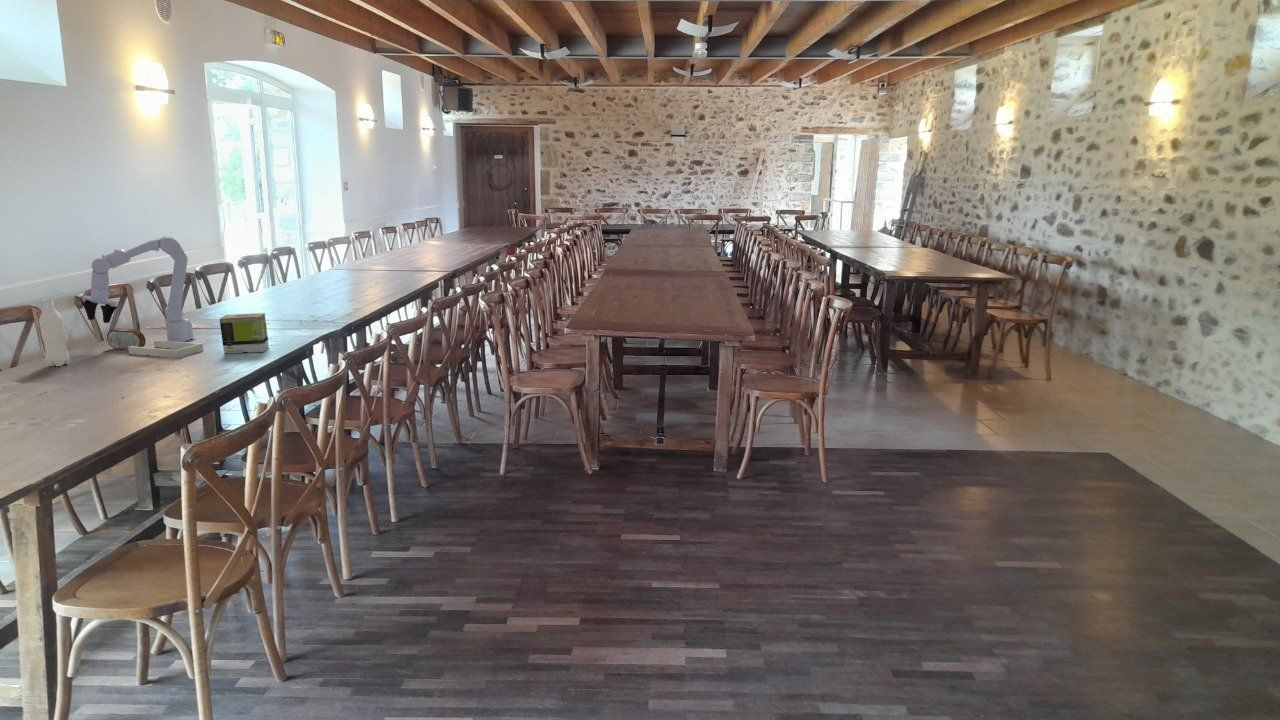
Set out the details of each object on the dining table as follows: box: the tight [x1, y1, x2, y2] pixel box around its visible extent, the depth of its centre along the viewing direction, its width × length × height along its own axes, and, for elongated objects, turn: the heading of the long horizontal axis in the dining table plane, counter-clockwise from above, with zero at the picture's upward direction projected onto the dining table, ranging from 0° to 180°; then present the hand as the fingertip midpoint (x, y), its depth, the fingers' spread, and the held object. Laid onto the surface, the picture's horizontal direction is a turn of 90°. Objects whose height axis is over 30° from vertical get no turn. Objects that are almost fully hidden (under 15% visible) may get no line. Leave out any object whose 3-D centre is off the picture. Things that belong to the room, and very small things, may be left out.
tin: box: [106, 327, 147, 350], centre depth 308 cm, size 15×3×8 cm, turn 84°
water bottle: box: [38, 298, 71, 367], centre depth 280 cm, size 7×7×25 cm
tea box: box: [219, 312, 270, 355], centre depth 308 cm, size 15×10×15 cm, turn 105°
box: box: [128, 339, 204, 359], centre depth 304 cm, size 13×23×3 cm, turn 76°
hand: (98, 321), depth 308 cm, fingers open, 7 cm apart
